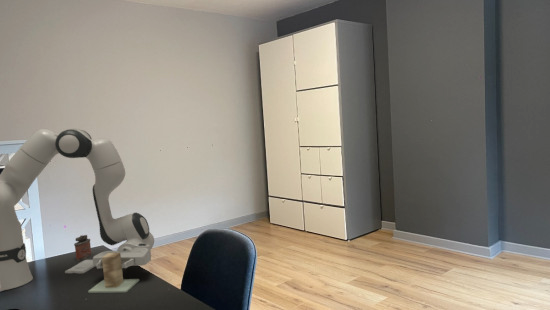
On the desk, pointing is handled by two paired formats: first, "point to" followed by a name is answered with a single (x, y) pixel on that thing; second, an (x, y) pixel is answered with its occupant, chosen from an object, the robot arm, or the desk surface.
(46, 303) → the desk surface
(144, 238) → the robot arm
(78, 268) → the external hard drive
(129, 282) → the mat
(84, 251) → the lighter
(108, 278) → the oak block
